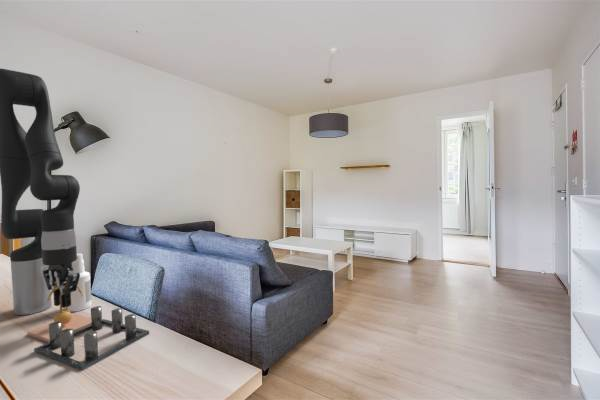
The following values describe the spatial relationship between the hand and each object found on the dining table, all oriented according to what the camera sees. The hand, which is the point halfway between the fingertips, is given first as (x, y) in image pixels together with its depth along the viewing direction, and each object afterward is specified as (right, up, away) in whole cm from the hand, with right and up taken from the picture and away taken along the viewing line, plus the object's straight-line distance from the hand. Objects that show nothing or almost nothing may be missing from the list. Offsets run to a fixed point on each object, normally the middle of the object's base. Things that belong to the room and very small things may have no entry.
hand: (62, 305), depth 83 cm
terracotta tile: (0, -7, 0) cm, 7 cm away
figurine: (-1, -5, +1) cm, 6 cm away
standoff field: (+14, -7, -7) cm, 18 cm away
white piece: (-6, -6, +15) cm, 17 cm away
